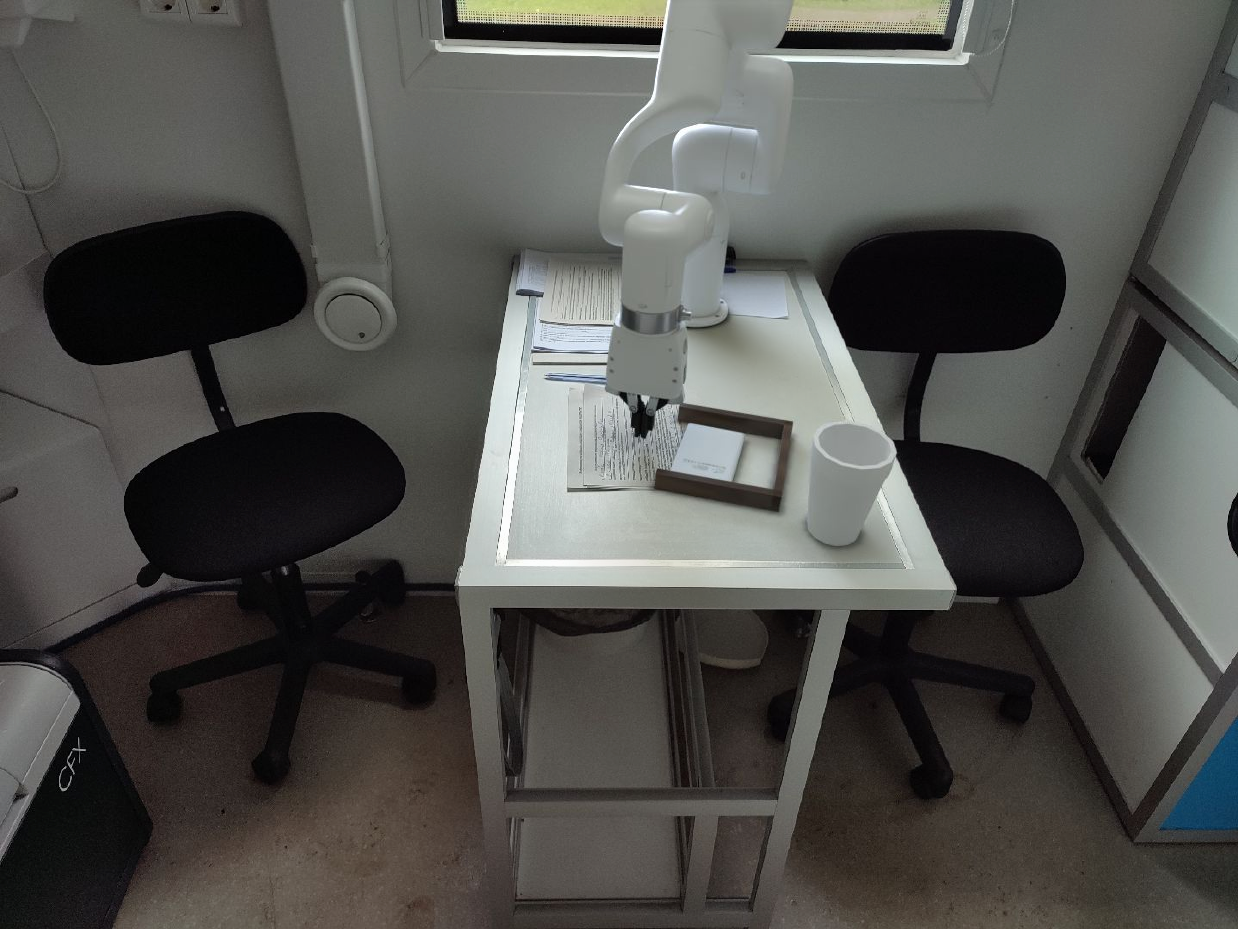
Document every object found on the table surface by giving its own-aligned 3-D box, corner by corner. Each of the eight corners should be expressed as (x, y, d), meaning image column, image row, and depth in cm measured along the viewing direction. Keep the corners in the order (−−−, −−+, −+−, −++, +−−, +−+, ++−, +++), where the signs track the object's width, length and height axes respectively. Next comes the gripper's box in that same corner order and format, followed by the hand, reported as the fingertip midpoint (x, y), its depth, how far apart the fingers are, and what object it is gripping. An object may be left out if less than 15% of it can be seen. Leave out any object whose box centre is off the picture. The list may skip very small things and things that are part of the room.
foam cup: (857, 565, 101) (882, 479, 94) (784, 537, 105) (802, 452, 97) (879, 520, 108) (905, 436, 100) (809, 495, 111) (828, 412, 104)
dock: (679, 416, 125) (680, 402, 123) (790, 435, 122) (793, 421, 121) (654, 488, 111) (655, 473, 110) (778, 512, 109) (781, 496, 107)
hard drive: (744, 443, 120) (728, 496, 111) (687, 431, 122) (666, 483, 112) (745, 433, 119) (730, 486, 110) (688, 422, 121) (667, 473, 111)
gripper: (714, 308, 108) (700, 426, 119) (599, 291, 111) (596, 408, 122) (704, 336, 102) (690, 458, 114) (583, 318, 105) (582, 438, 116)
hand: (642, 432), depth 118 cm, fingers closed
